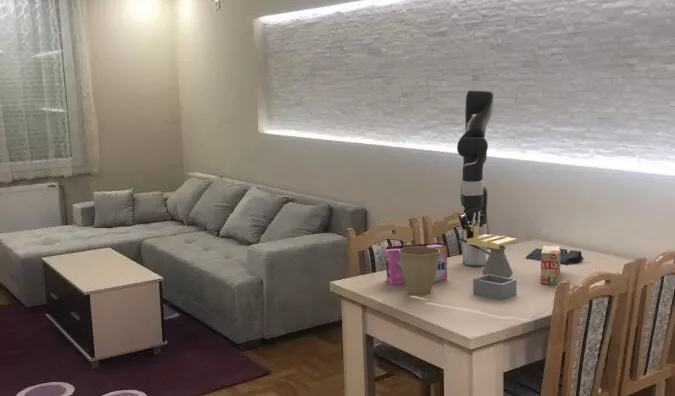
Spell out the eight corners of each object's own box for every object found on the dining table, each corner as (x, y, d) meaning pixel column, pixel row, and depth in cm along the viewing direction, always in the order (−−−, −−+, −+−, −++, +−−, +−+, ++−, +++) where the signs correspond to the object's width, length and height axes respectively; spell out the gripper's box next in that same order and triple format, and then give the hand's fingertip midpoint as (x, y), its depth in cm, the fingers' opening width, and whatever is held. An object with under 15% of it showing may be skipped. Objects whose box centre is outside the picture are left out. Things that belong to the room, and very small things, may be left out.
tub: (473, 295, 256) (473, 278, 255) (488, 290, 262) (488, 274, 261) (501, 301, 247) (501, 284, 246) (516, 296, 253) (516, 279, 252)
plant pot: (430, 301, 250) (429, 256, 248) (392, 295, 258) (391, 252, 256) (447, 290, 263) (446, 248, 260) (410, 285, 270) (410, 244, 268)
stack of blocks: (544, 270, 288) (544, 240, 286) (560, 271, 286) (560, 241, 284) (540, 284, 268) (541, 252, 266) (558, 285, 266) (558, 252, 264)
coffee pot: (516, 277, 278) (516, 239, 276) (507, 284, 268) (507, 245, 266) (464, 271, 289) (464, 235, 287) (453, 278, 279) (453, 240, 277)
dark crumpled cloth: (539, 253, 320) (539, 242, 319) (587, 260, 305) (587, 249, 304) (522, 259, 309) (522, 248, 308) (570, 266, 294) (571, 255, 293)
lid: (457, 242, 257) (457, 227, 256) (476, 237, 264) (476, 223, 263) (498, 249, 244) (498, 233, 243) (516, 243, 252) (516, 228, 251)
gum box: (388, 285, 272) (387, 250, 270) (382, 280, 280) (382, 246, 278) (447, 280, 277) (447, 246, 275) (440, 275, 285) (440, 242, 283)
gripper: (475, 189, 263) (475, 235, 266) (452, 194, 254) (452, 242, 257) (492, 191, 258) (492, 238, 261) (469, 196, 249) (469, 245, 251)
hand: (472, 240), depth 259 cm, fingers closed on lid, 2 cm apart
